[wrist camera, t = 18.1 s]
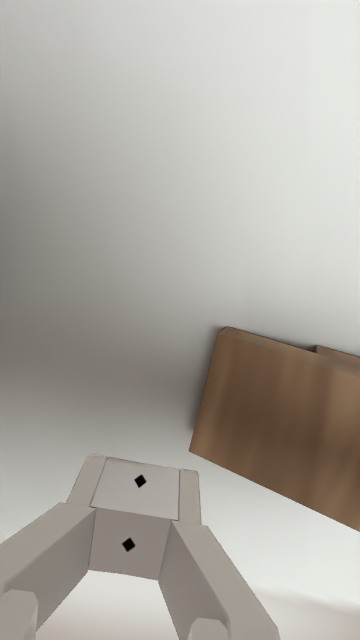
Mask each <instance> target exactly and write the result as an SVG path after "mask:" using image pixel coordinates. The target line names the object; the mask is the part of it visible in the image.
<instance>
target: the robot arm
mask: <svg viewBox="0 0 360 640" xmlns="http://www.w3.org/2000/svg"><path fill="white" fill-rule="evenodd" d="M88 570H94V571H102V572H111V573H119V574H127V575H131V576H136V577H142V578H147V579H153V580H158V581H159V582H158V583H159V586H160V589H161V591H162V594H163V597H164V599H165V602H166V605H167V607H168V610H169V613H170V615H171V618H172V621H173V624H174V626H175V629H176V632H177V635H178V637H179V640H280V637H279V632H278V628H277V626H276V625H275V623H274V622H273V621H272V619H271V617H270V616H269V615H268V613H267V612H266V610H265V609H264V607H263V606H262V604H261V603H260V602H259V600H258V599H257V597H256V596H255V594H254V593H253V591H252V590H251V588H250V587H249V586H248V584H247V583H246V581H245V580H244V578H243V577H242V575H241V574H240V573H239V571H238V570H237V568H236V567H235V565H234V564H233V562H232V561H231V560H230V558H229V557H228V555H227V554H226V552H225V551H224V549H223V548H222V546H221V545H220V544H219V542H218V541H217V539H216V538H215V536H214V535H213V533H212V532H211V531H210V529H209V528H208V526H204V525H201V508H200V491H199V474H198V472H197V471H193V470H186V469H176V468H170V467H164V466H157V465H151V464H145V463H139V462H134V461H129V460H123V459H118V458H113V457H106V456H100V455H95V454H89V455H88V457H87V458H86V460H85V462H84V465H83V467H82V469H81V471H80V473H79V476H78V478H77V480H76V482H75V484H74V486H73V489H72V491H71V493H70V495H69V497H68V500H67V502H66V503H58V504H57V505H56V506H54V507H53V508H51V509H50V510H48V511H47V512H46V513H44V514H43V515H41V516H40V517H38V518H37V519H36V520H34V521H33V522H31V523H30V524H28V525H27V526H26V527H24V528H23V529H21V530H20V531H18V532H17V533H16V534H14V535H13V536H11V537H10V538H9V539H7V540H6V541H4V542H3V543H1V544H0V640H35V635H36V632H37V630H38V629H39V628H40V626H42V625H43V623H44V622H45V621H46V620H47V619H48V617H49V616H50V615H51V614H52V613H53V612H54V611H55V609H56V608H57V607H58V606H59V605H60V604H61V602H62V601H63V600H64V599H65V598H66V597H67V595H68V594H69V593H70V592H71V591H72V590H73V588H74V587H75V586H76V585H77V584H78V583H79V582H80V580H81V579H82V578H83V577H84V576H85V575H86V573H87V571H88Z"/></svg>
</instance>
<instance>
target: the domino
mask: <svg viewBox="0 0 360 640" xmlns="http://www.w3.org/2000/svg"><path fill="white" fill-rule="evenodd" d="M189 451H190V452H192V453H194V454H196V455H198V456H200V457H202V458H204V459H207V460H209V461H211V462H213V463H215V464H217V465H219V466H221V467H223V468H226V469H228V470H230V471H232V472H234V473H236V474H238V475H240V476H243V477H245V478H247V479H249V480H251V481H253V482H255V483H257V484H259V485H262V486H264V487H266V488H268V489H270V490H272V491H274V492H276V493H279V494H281V495H283V496H285V497H287V498H289V499H291V500H293V501H295V502H298V503H300V504H302V505H304V506H306V507H308V508H310V509H312V510H315V511H317V512H319V513H321V514H323V515H325V516H327V517H329V518H331V519H334V520H336V521H338V522H340V523H342V524H344V525H346V526H348V527H351V528H353V529H355V530H357V531H359V532H360V366H356V365H353V364H350V363H347V362H343V361H340V360H337V359H333V358H330V357H327V356H324V355H320V354H317V353H314V352H310V351H307V350H304V349H301V348H297V347H294V346H291V345H287V344H284V343H281V342H278V341H274V340H271V339H268V338H264V337H261V336H258V335H254V334H251V333H248V332H245V331H241V330H238V329H235V328H231V327H228V326H227V327H226V328H225V329H223V330H222V331H221V332H219V333H218V337H217V341H216V345H215V349H214V353H213V356H212V360H211V364H210V368H209V372H208V376H207V380H206V384H205V388H204V392H203V396H202V400H201V404H200V408H199V412H198V416H197V420H196V424H195V428H194V432H193V436H192V440H191V444H190V448H189Z"/></svg>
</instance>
